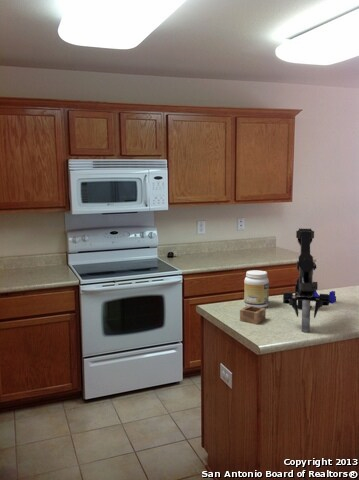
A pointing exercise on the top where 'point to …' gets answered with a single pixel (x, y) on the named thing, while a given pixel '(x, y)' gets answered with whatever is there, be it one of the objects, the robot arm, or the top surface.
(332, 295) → the cable clip
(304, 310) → the slate dowel
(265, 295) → the supplement tub
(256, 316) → the walnut square holder
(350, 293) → the top surface
